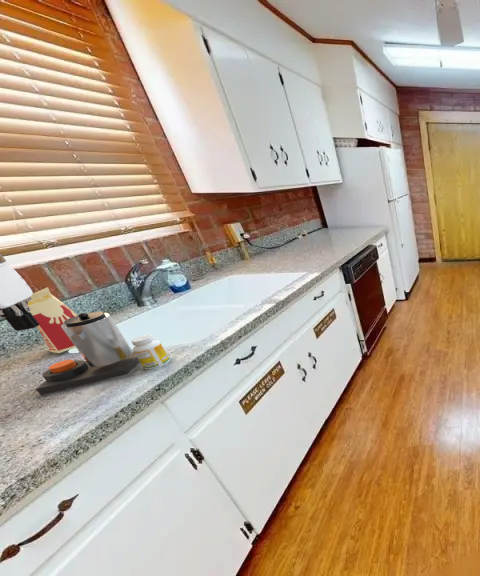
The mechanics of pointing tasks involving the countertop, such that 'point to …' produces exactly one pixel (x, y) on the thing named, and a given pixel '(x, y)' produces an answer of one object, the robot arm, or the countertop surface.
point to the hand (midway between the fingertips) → (28, 327)
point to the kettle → (97, 338)
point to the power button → (62, 366)
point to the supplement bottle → (149, 352)
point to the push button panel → (85, 374)
